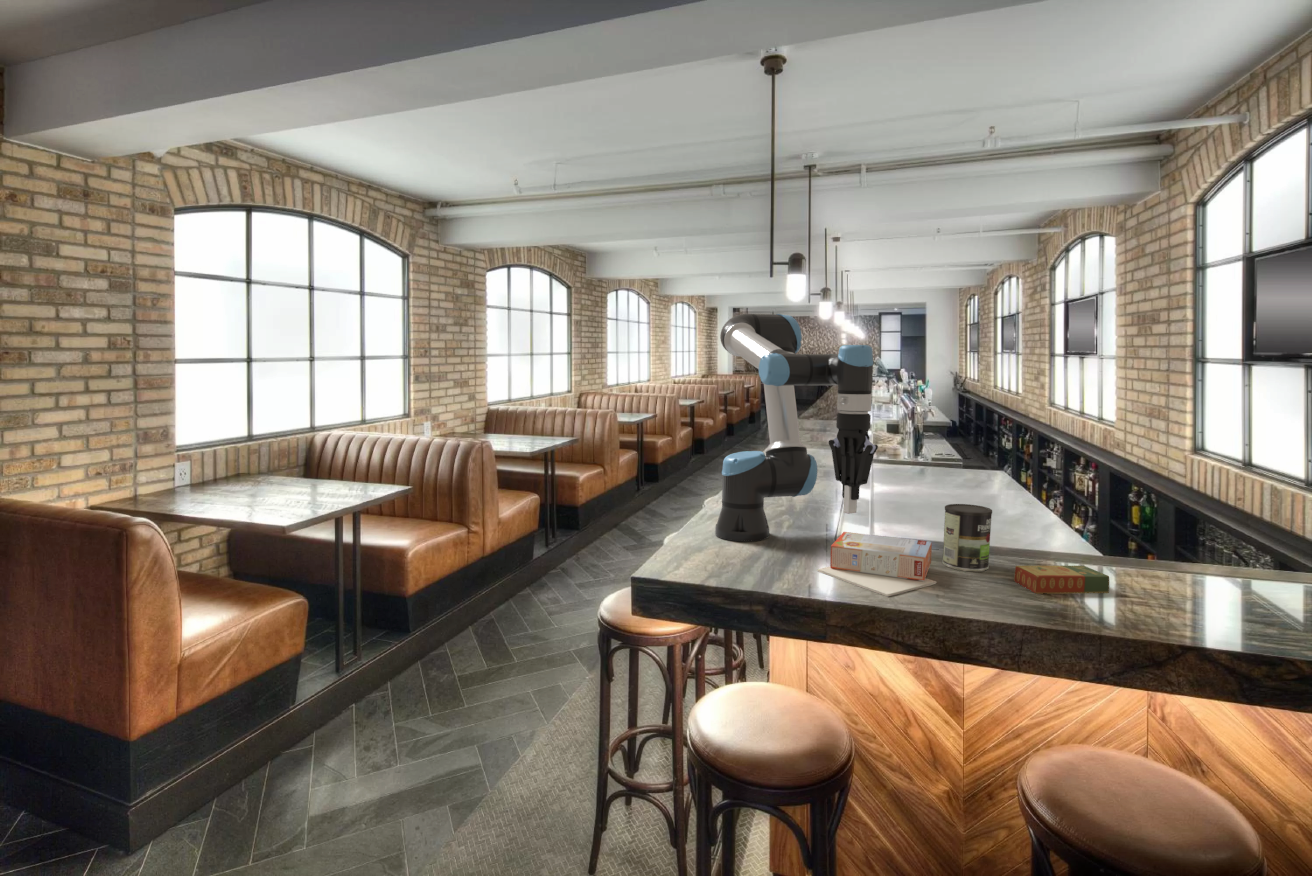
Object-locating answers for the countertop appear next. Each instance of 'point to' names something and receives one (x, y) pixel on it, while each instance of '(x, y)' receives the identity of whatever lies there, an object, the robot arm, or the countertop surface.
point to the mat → (877, 581)
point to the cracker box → (882, 555)
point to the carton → (1061, 579)
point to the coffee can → (967, 537)
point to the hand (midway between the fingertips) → (850, 512)
